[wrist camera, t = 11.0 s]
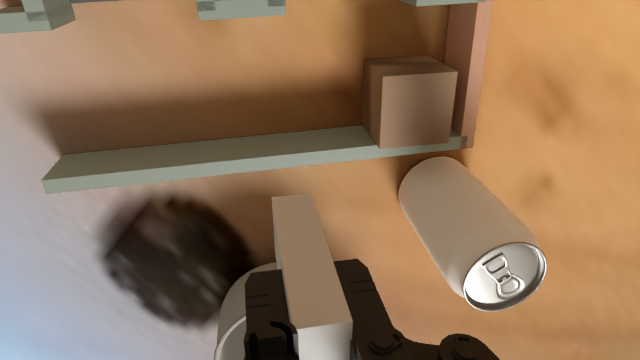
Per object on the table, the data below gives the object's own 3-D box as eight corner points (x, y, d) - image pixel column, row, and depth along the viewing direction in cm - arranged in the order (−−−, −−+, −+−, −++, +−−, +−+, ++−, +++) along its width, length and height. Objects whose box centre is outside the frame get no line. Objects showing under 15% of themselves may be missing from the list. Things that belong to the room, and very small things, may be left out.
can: (417, 231, 40) (480, 331, 29) (383, 182, 37) (440, 275, 26) (478, 192, 39) (566, 281, 28) (448, 139, 36) (534, 218, 25)
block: (361, 123, 34) (379, 149, 30) (363, 59, 32) (382, 76, 27) (422, 118, 35) (448, 142, 30) (428, 55, 32) (457, 71, 28)
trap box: (67, 167, 32) (46, 193, 28) (-37, -123, 23) (-85, -136, 20) (449, 127, 35) (472, 147, 32) (478, -135, 27) (513, -148, 23)
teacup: (200, 316, 40) (192, 393, 33) (248, 227, 37) (250, 292, 30) (328, 349, 45) (344, 421, 38) (382, 273, 41) (410, 338, 35)
